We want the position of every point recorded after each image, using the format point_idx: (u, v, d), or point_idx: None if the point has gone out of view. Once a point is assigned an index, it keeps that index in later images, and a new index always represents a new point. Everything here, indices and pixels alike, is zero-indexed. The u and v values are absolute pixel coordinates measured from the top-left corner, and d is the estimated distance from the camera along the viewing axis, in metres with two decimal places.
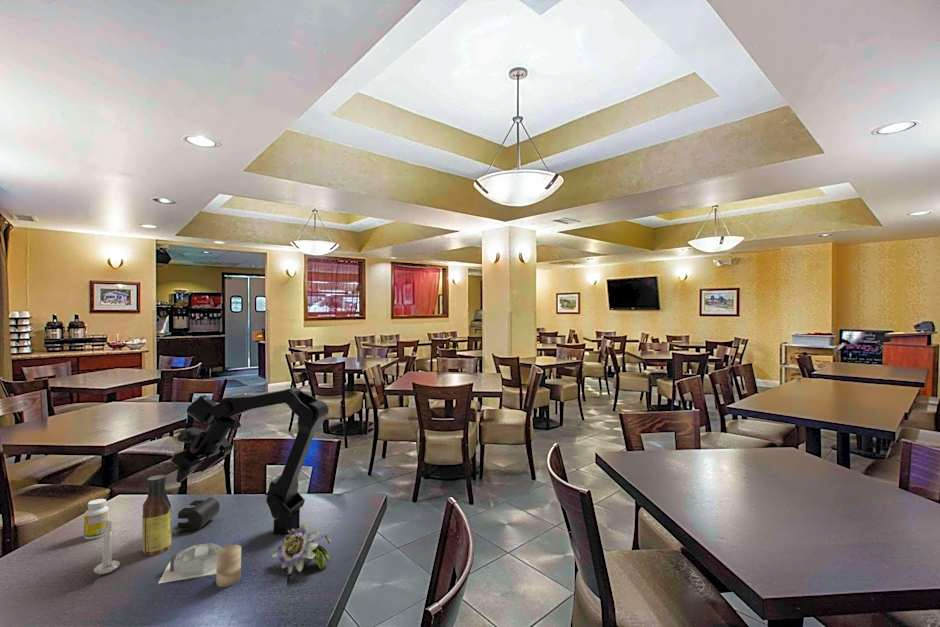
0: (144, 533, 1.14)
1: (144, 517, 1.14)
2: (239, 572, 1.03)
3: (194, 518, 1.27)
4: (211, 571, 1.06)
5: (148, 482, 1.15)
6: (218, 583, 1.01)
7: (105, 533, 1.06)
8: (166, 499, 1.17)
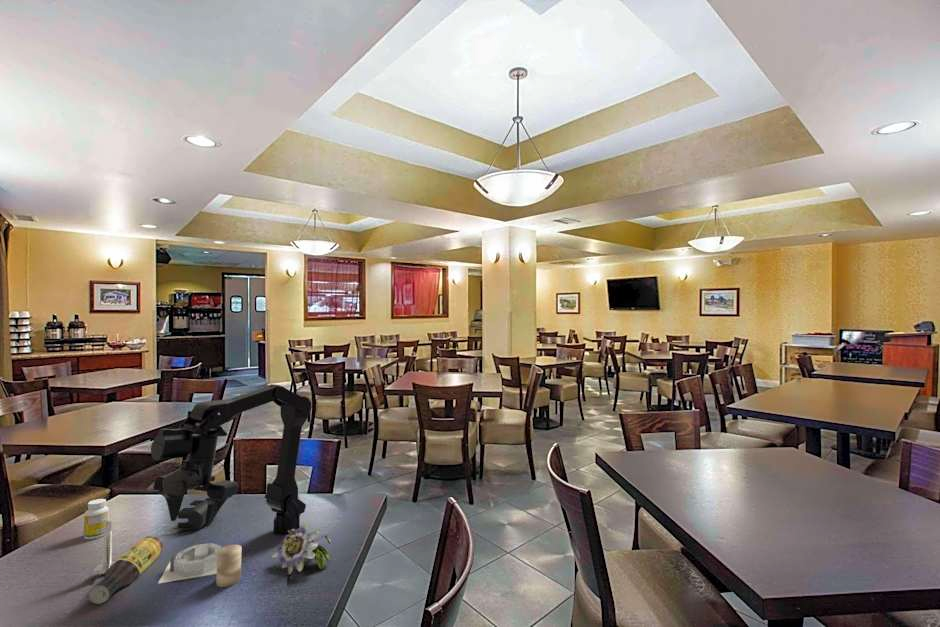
0: None
1: None
2: (239, 572, 1.03)
3: (194, 518, 1.27)
4: (211, 571, 1.06)
5: None
6: (218, 583, 1.01)
7: (105, 533, 1.06)
8: (128, 577, 1.00)
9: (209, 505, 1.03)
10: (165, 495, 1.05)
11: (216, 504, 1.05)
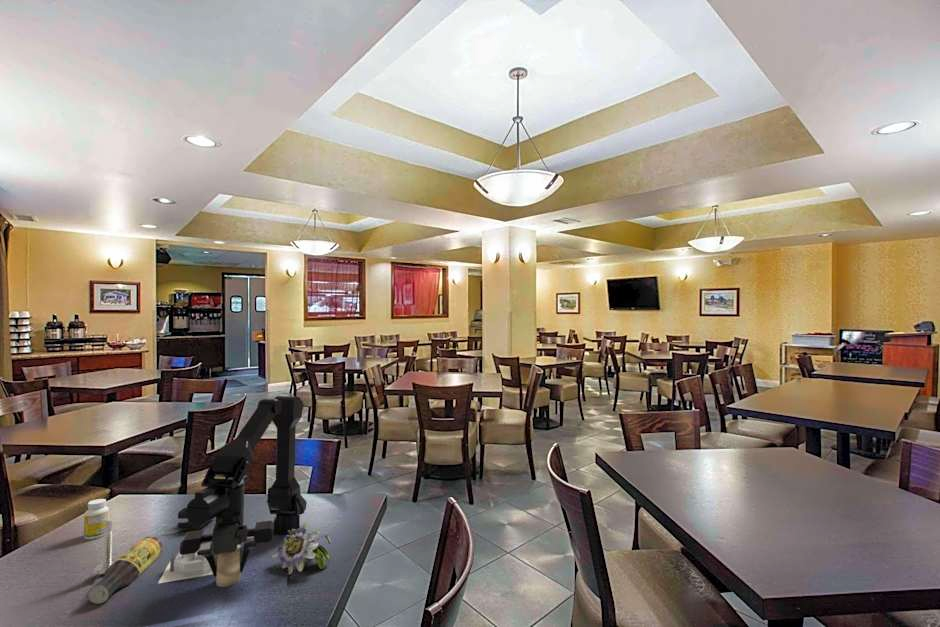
0: None
1: None
2: (239, 572, 1.03)
3: None
4: (211, 571, 1.06)
5: None
6: (218, 583, 1.01)
7: (105, 533, 1.06)
8: (127, 576, 1.00)
9: (245, 551, 1.03)
10: (207, 555, 1.00)
11: None
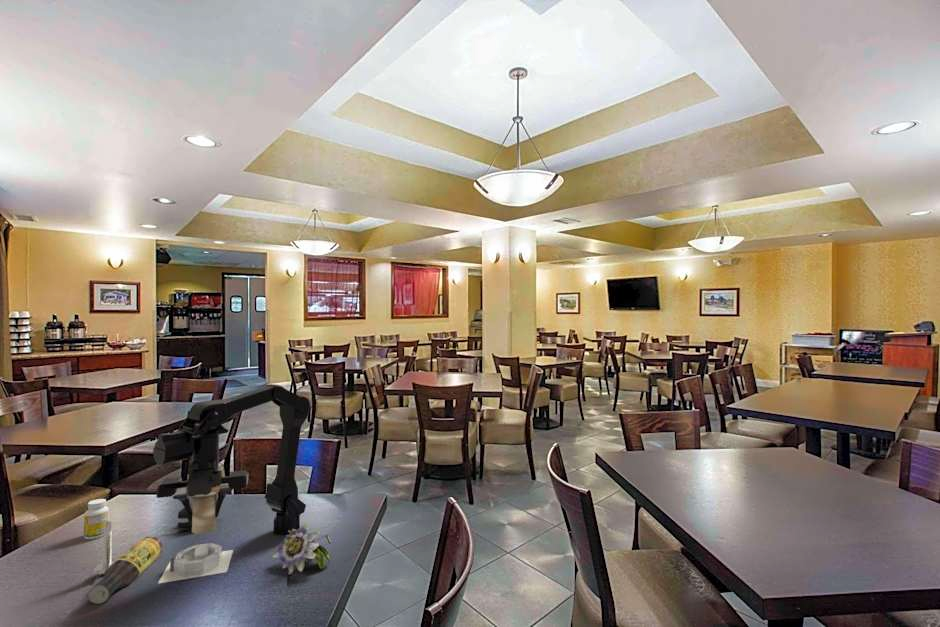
0: None
1: None
2: (214, 517, 1.08)
3: None
4: (211, 571, 1.06)
5: None
6: (194, 527, 1.06)
7: (104, 533, 1.06)
8: (127, 576, 1.00)
9: (220, 497, 1.08)
10: (183, 499, 1.05)
11: None
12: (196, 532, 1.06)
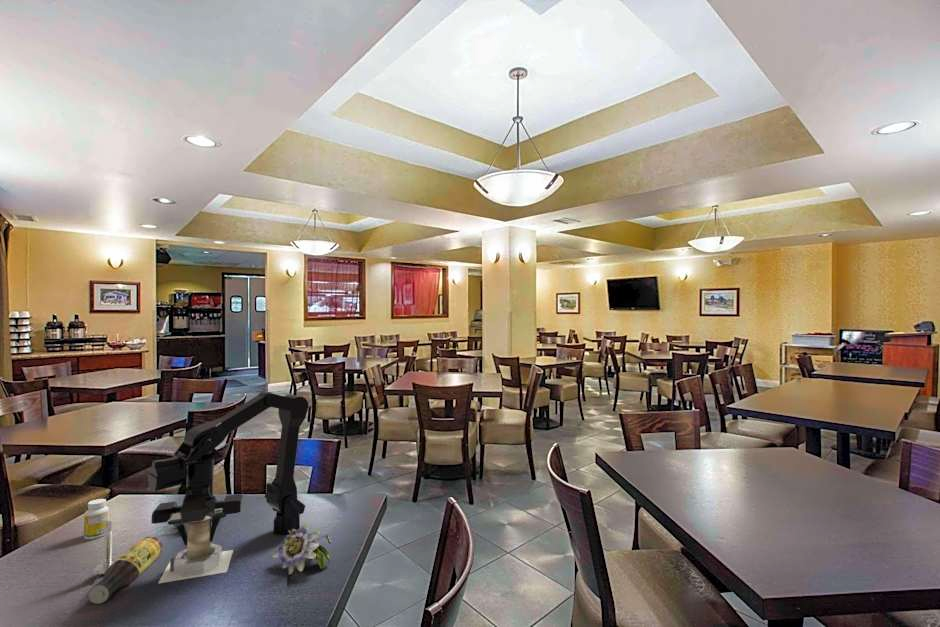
0: None
1: None
2: (209, 541, 1.09)
3: None
4: (211, 571, 1.06)
5: None
6: (188, 551, 1.07)
7: (105, 533, 1.06)
8: (127, 576, 1.00)
9: (214, 522, 1.09)
10: (178, 524, 1.06)
11: None
12: (191, 557, 1.07)
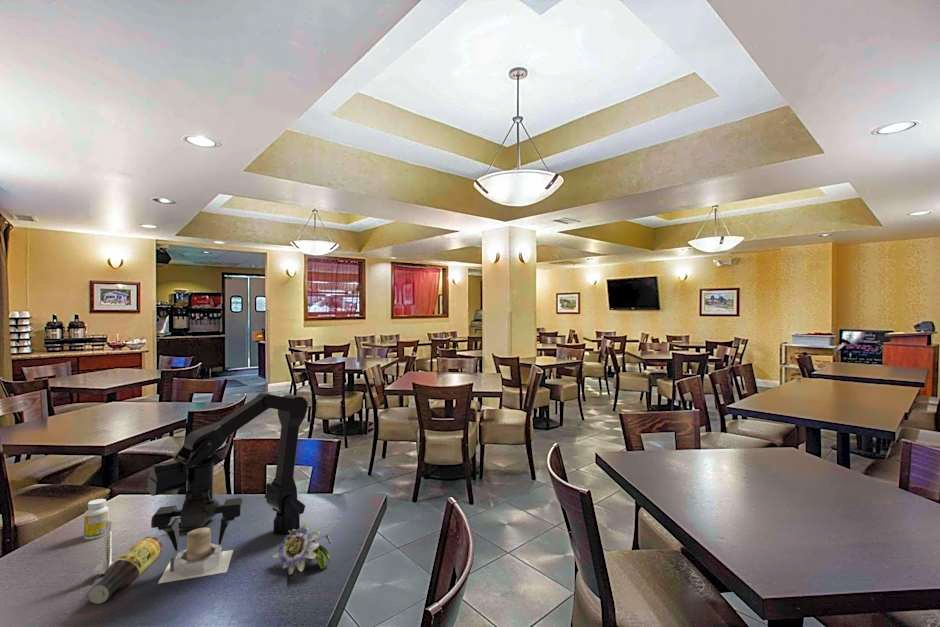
0: None
1: None
2: (209, 553, 1.09)
3: None
4: (211, 571, 1.06)
5: None
6: None
7: (104, 533, 1.06)
8: (127, 576, 1.00)
9: (223, 525, 1.10)
10: (168, 530, 1.05)
11: None
12: None
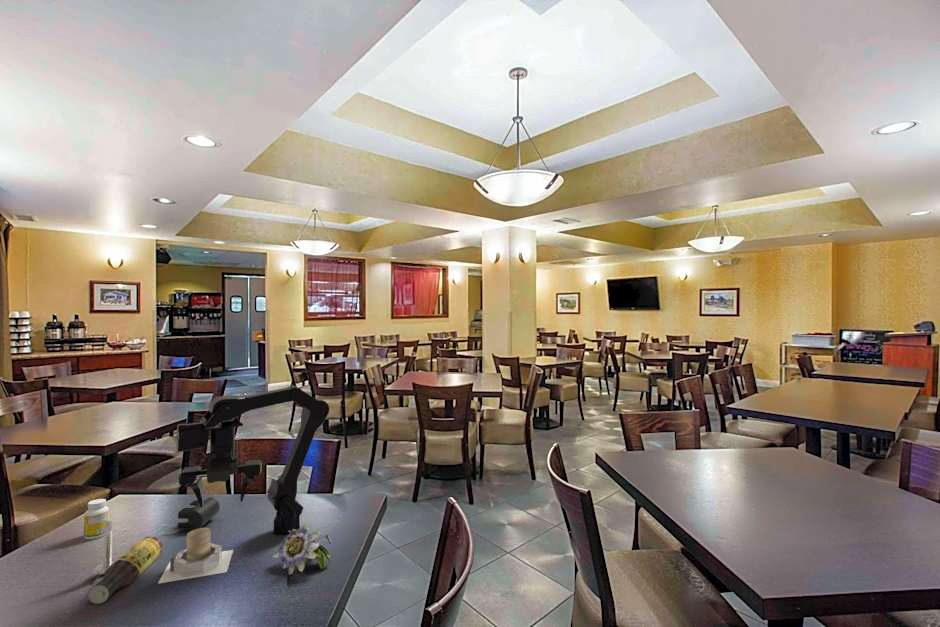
0: None
1: None
2: (209, 553, 1.09)
3: (194, 518, 1.27)
4: (211, 571, 1.06)
5: None
6: None
7: (105, 533, 1.06)
8: (127, 576, 1.00)
9: (244, 483, 1.18)
10: (194, 487, 1.13)
11: None
12: None
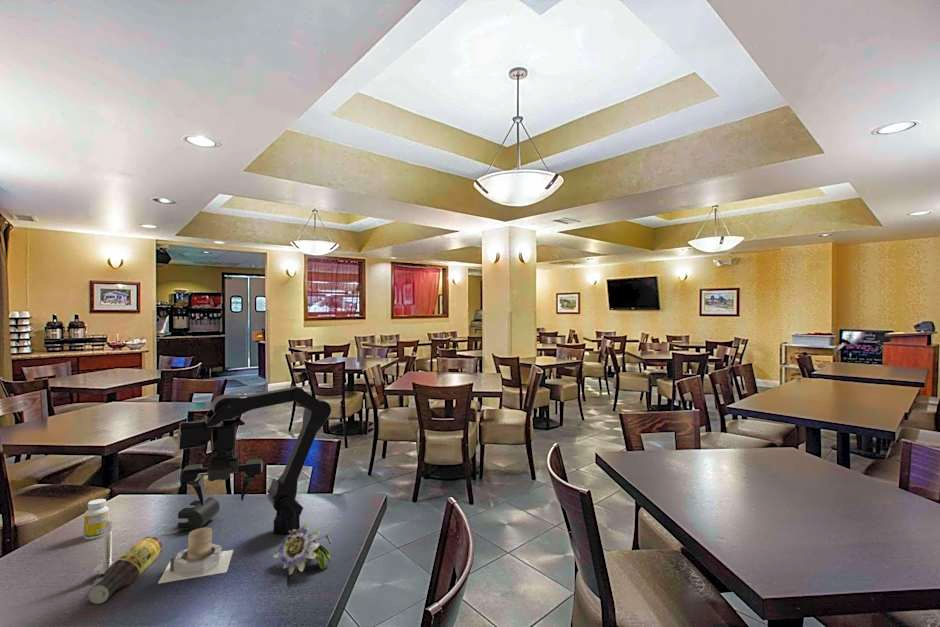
0: None
1: None
2: (210, 553, 1.09)
3: (194, 518, 1.27)
4: (211, 571, 1.06)
5: None
6: None
7: (105, 533, 1.06)
8: (127, 576, 1.00)
9: (245, 482, 1.18)
10: (195, 485, 1.14)
11: None
12: None
